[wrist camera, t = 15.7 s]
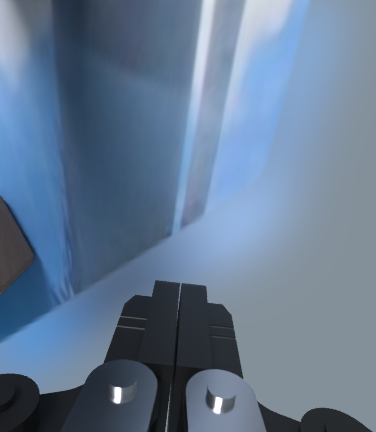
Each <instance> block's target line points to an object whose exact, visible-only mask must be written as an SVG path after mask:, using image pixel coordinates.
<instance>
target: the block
mask: <svg viewBox="0 0 376 432" xmlns="http://www.w3.org/2000/svg"><path fill="white" fill-rule="evenodd" d="M34 260H35V256H34V253H33V251H32V249H31V247H30V246H29V244H28V242H27V240H26V239H25V237H24V235H23V233H22V232H21V230H20V228H19V226H18V225H17V223H16V221H15V219H14V218H13V216H12V214H11V212H10V211H9V209H8V207H7V205H6V204H5V202H4V200H3V199H2V197H1V196H0V295H1V294H2V293H3V292H4V291H5V290H6V289H7V288H8V287H9V286H10V285H11V284H12V283H13V282H14V281H15V280H16V279H17V278H18V277H19V276H20V275H21V274H22V273H23V272H24V271H25V270H26V269H27V268H28V267H29V266H30V265H31V264H32V263H33V262H34Z"/></svg>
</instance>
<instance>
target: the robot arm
mask: <svg viewBox="0 0 376 432" xmlns="http://www.w3.org/2000/svg"><path fill="white" fill-rule="evenodd" d="M179 287H180V283H175V282H166V281H158V280H157V281H155V285H154V289H153V294H152V297H149V296H140V295H135V296H134V297H132V298H131V299H130V300H129V301H128V302H126V303H125V305H124V307H123V310H122V313H121V317H120V318H119V321H118V324H117V327H116V330H115V332H114V335H113V338H112V341H111V344H110V347H109V349H108V352H107V355H106V358H105V360H104V363H103V364H102V365H100V366H98V367H97V368H96V369H94V370H93V371H92V372H91V373H90V375H89V376H88V378H87V379H86V381H85V384H83V385H81V386H79V387H77V388H74V389H71V390H66V391H61V392H54V393H47V394H41V395H40V393H39V388H38V386H37V384H36V383H35V382H34V381H33V380H32V379H30V378H28V377H27V376H24V375H20V374H0V432H165V427H166V419H167V411H168V402H169V395H170V403H169V414H168V415H169V416H168V427H167V432H372V431H371V430H369V429H368V428H367V427H365V426H364V425H363V424H362V423H360V422H359V421H357V420H356V419H354V418H353V417H351V416H349V415H347V414H345V413H343V412H341V411H337V410H334V409H329V408H316V409H312V410H310V411H308V412H307V413H306V414H304V416H303V418H302V419H301V422H299V421H296V420H293V419H291V418H288V417H286V416H283V415H280V414H278V413H275V412H273V411H271V410H269V409H267V408H266V407H264V406H263V405H261V404H260V403H259V402H258V401H257V399H256V396H255V394H254V391H253V390H252V388H251V387H250V385H249V384H248V383H247V382H246V381H245V380H243V375H242V369H241V364H240V358H239V353H238V348H237V342H236V340H235V332H234V326H233V321H232V316H231V314H230V313H229V312H228V311H227V309H226V308H225V307H224V306H223V305H221V304H213V303H207V291H206V286H202V285H194V284H185V283H182V285H181V293H180V301H179V309H178V298H179ZM177 311H178V318H177ZM176 324H177V325H176ZM170 387H171V390H170Z"/></svg>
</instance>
